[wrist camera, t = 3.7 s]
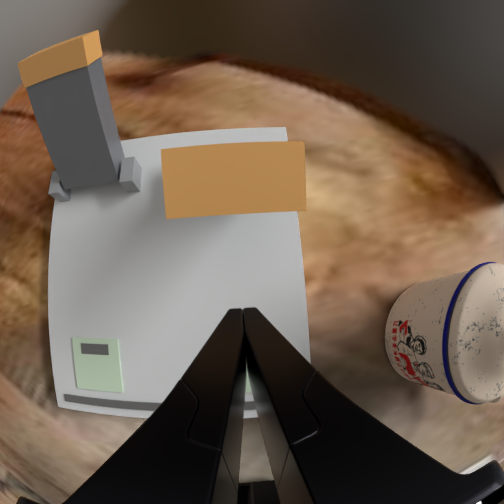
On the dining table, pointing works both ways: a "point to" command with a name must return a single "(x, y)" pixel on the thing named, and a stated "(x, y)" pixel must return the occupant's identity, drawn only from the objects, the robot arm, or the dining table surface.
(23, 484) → the dining table surface
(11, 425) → the dining table surface
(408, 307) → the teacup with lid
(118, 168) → the block
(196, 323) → the switch unit
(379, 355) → the dining table surface
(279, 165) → the rocker
